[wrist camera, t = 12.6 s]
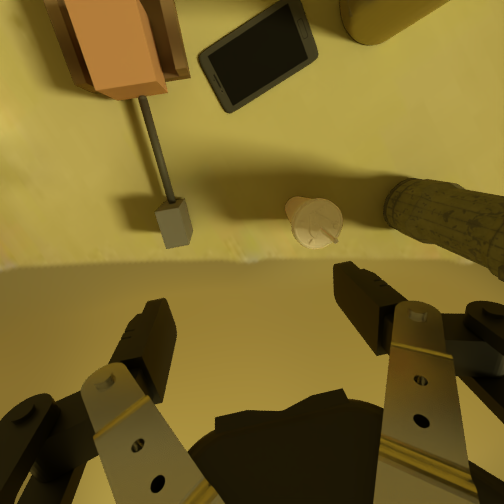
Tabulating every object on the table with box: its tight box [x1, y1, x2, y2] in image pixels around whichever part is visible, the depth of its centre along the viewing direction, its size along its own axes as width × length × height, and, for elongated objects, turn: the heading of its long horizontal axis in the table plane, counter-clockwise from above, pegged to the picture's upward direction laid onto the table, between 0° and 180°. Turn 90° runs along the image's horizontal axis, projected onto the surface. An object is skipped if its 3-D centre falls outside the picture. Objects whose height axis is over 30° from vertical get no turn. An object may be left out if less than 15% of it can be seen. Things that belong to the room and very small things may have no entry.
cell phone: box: [199, 0, 318, 113], centre depth 32 cm, size 7×14×1 cm, turn 119°
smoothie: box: [285, 196, 343, 249], centre depth 33 cm, size 6×6×14 cm
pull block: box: [64, 0, 193, 249], centre depth 30 cm, size 25×6×7 cm, turn 8°
